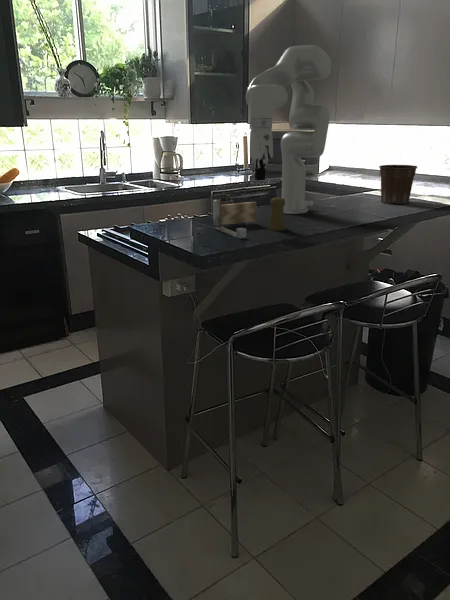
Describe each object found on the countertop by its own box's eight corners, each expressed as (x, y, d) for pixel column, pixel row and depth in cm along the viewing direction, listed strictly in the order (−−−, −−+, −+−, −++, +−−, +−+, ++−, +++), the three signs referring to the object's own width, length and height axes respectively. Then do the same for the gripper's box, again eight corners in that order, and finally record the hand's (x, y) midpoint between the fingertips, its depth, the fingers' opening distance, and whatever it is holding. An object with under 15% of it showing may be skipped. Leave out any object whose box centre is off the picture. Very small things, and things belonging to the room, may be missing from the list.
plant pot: (368, 202, 235) (371, 165, 230) (390, 198, 244) (393, 163, 239) (398, 206, 223) (402, 168, 217) (420, 202, 232) (425, 166, 226)
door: (222, 225, 185) (222, 205, 183) (219, 223, 188) (218, 204, 185) (256, 221, 191) (256, 202, 189) (252, 219, 194) (252, 201, 191)
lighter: (233, 218, 201) (233, 192, 197) (233, 220, 198) (233, 194, 194) (212, 219, 201) (212, 193, 197) (212, 220, 197) (212, 194, 194)
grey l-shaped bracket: (212, 227, 186) (211, 199, 182) (218, 226, 187) (217, 199, 183) (239, 238, 169) (240, 208, 166) (246, 237, 170) (246, 207, 167)
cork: (264, 228, 183) (265, 197, 180) (275, 226, 187) (276, 195, 184) (277, 231, 179) (278, 199, 176) (288, 228, 183) (290, 197, 180)
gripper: (280, 124, 167) (279, 182, 174) (262, 123, 180) (261, 176, 187) (259, 125, 165) (258, 183, 171) (242, 124, 178) (242, 178, 184)
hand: (260, 179), depth 179 cm, fingers closed
